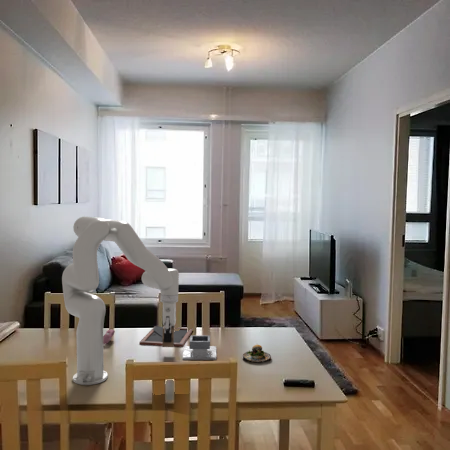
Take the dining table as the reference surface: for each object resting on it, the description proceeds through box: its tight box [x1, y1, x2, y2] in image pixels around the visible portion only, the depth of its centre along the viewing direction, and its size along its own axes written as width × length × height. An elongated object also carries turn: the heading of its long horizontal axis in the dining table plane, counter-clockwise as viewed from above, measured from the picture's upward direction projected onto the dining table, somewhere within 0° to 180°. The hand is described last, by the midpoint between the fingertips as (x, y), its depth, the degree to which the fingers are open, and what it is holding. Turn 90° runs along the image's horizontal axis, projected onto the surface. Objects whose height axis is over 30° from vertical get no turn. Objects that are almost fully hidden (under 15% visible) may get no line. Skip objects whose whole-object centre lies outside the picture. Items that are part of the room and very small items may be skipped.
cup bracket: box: [182, 334, 217, 361], centre depth 206 cm, size 14×14×7 cm
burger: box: [242, 344, 272, 363], centre depth 201 cm, size 12×12×8 cm
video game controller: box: [103, 328, 116, 346], centre depth 220 cm, size 10×5×7 cm, turn 179°
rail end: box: [161, 325, 175, 348], centre depth 204 cm, size 4×4×8 cm
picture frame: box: [139, 325, 193, 348], centre depth 229 cm, size 20×2×25 cm
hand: (168, 339), depth 204 cm, fingers closed on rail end, 4 cm apart
